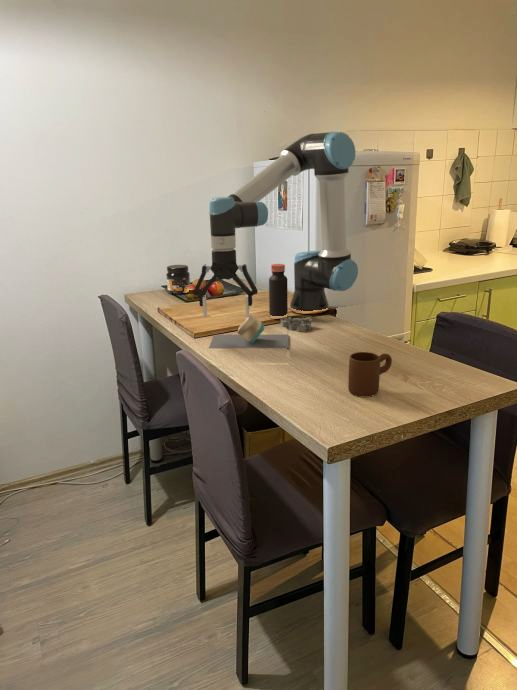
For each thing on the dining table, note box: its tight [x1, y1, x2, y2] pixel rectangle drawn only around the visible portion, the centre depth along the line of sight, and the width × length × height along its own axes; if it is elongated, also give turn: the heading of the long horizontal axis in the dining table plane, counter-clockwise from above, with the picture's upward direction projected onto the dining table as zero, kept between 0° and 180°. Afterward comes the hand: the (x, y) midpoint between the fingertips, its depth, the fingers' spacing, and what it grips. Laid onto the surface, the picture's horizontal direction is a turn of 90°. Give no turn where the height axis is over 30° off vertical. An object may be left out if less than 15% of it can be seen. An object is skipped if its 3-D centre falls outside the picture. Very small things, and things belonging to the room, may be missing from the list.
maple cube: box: [237, 313, 265, 344], centre depth 175 cm, size 6×6×6 cm
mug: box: [347, 351, 393, 397], centre depth 136 cm, size 12×8×9 cm, turn 115°
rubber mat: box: [208, 333, 289, 351], centre depth 176 cm, size 25×14×1 cm, turn 87°
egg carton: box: [279, 316, 313, 333], centre depth 191 cm, size 11×8×4 cm
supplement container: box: [166, 264, 191, 295], centre depth 247 cm, size 10×10×12 cm
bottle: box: [268, 263, 289, 316], centre depth 201 cm, size 7×7×20 cm
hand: (226, 316), depth 174 cm, fingers open, 13 cm apart
